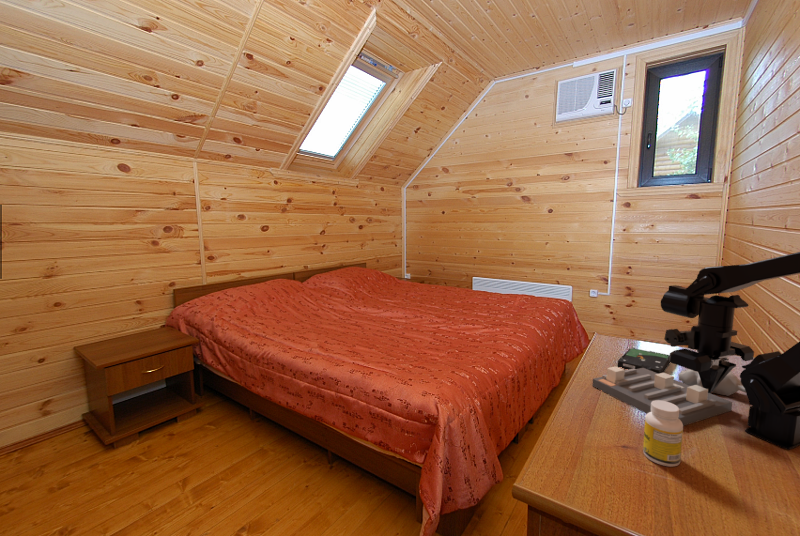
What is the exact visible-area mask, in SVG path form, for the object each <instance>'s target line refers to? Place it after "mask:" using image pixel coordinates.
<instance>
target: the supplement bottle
mask: <svg viewBox="0 0 800 536" xmlns="http://www.w3.org/2000/svg"><path fill="white" fill-rule="evenodd" d="M645 414H646V415H645V418H644V427H643V428H644V429H643V430H644V431H643V432H644V433H643V446H642V447H643V448H642V451H643V452H642V453H643V454H644V457H646V458H647V459H648V460H650V461H651V462H653V463H655V464H658V465H660V466H664V467H671V468H672V467H678V466H679V465H680V463H681V460H682V445H683V444H682V443H683V433H684V426H683V424H682V422H681V420H680V419H678V417H679V408H678V407H677V406H676V405H674V404H672V403H670V402H666V401H661V400H655V401H652V402H651V412H649V413H645Z"/></svg>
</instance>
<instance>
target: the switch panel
mask: <svg viewBox="0 0 800 536" xmlns="http://www.w3.org/2000/svg"><path fill="white" fill-rule="evenodd" d="M624 370H625V369H624ZM655 374H658V373H656V372H653V371H650V370H648V369H645V368H639V369H634V368H633V369H629V370H625V373H624V380H620V381H616V384H615V383H613V382H610V381H608V380H606V377H607V373H606V374H602V376H599V377H595V378H592V387H593V386H594V387H593V388H595V387H596V388H595V389H597V388H598V389H597V390H599V389H600V390H599V391H601V390H602V391H601V392H603V393H605V394H607V395H609V396H611V397H613V398H615V399H617V400H619V401H621V402H623V403H625V404H627V405H629V406H632V407H634V408H635V409H637V410H639V411H641V412H643V413H645V414H647V413H649V412H651V402H652V401H655V400H661V401H666V402H670V403H672V404H674V405H676V406H677V407H678V408H679V417H678V419H680V420H681V422H682V424H683V427H684V426H687V425H690V424H693V423H697V422H700V421H702V420H706V419H709V418H713V417H715V416H719V415H722V414H725V413H728V412H731V411H732V410H733V401H731V400H729V399H727V398H724V397H720V396H718V395H717V394H716V395H715V394H714V393H713V394H712V393H708V396H707V401H704V402H700V403H697V404H694V403H692V402H689V401H687V400H686V393H687V387H689V385H687V384H685V383H684V382H683V381H680V380H676V379H674V383H673V387H670V388H667V389H663V390H661V389H658V388H656V387H654V380H655Z"/></svg>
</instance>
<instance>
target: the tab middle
mask: <svg viewBox="0 0 800 536" xmlns="http://www.w3.org/2000/svg"><path fill="white" fill-rule="evenodd" d="M674 380H675V376H674V375H671V374H668V373H666V372H664V373H660V374H655V380H654V387H656V388H658V389H661V390H663V389H667V388H670V387H673V383H674Z"/></svg>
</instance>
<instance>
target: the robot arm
mask: <svg viewBox="0 0 800 536" xmlns="http://www.w3.org/2000/svg"><path fill="white" fill-rule="evenodd" d="M795 275H800V251H799V252H793V253H790V254H785V255H781V256H777V257H772V258H767V259H764V260H758V261H755V262H749V263H746V264H745V263H744V264H732V265H718V266H707V267H704V268H703V267H702V268H701V269H700V270H699V271H698V274H697V277H696V278H695V280H694V281H692V283H690V284H689V285H688V286H687V287H684V286H682V285H676V284H673V285H668V290H666V292H665V293H664V294H663V296H662V297H661V300H660V308H661V309H662V311H663V312H664V313H667V314H672V315H675V316H681V317H684V318H688V319H694V318H696V317H697V316H698V319H697V324H696V325H692V327H691V328H690V329H689V330H681V331H680V330H679V329H678V328H671V329H666V330H665V334H664V341H666V343H667V344H670V347H676V346H679V347H680V346H687V348H681V349H680V348H679V349H676V350H675V349H674V350H673V351H671V352H670V353H669V355H670V357H669V362H670V364H674V365H676V366H680V367H682V368H685V369H686V370H687V369H690V370H693V371H697V372H698V373H699V376H700V379H701V382H702V386H703V388H706V389H708V393H710V394H712V393H713V390H714V389H715V388H716V387H717V386H718V385H719V383H720V382H721V381H722V380H723V379H724V378H725V376H726V375H727V374H728V373H729V372H730V371H732V370H733V369H734V368H736V367H737V364H736V363H733V362H731V361H730V358H728V357H733V356H738V357H740V359H741V360H742V361H744V362H749V361H750V362H749V363H748V364H745V365H742V366H741V368H743V370H742V371H741V372H740V374H739V379H740V380H741V383H742V385H743V387H744V388H745V391H746V393H745V394H746V397H747V400H748V404H749V405H751V406H749V409H748V417H747V426H748V427H746V428H745V429H744V432H746V433H747V434H750V435H752V436H754V437H757V438H760V439H762V440H764V441H766V442H769V443H771V444H773V445H775V446H777V447H780V448H783V449H784V450H788V451H789V450H792V449H795V448H796V447H799V446H800V340H799V341H798V342H797V343H795V344H794V345H793V346H791V347H790V348H788V349H787V350H785V351H784V352H783V353H781V352H780V351H779V350H777V351H772V352H766V353H761V354H758V355H756V356H755V357H754V355H755V351H754V350H753V349H752V347H751V346H749V345H745V344H741V343H739V342H735V341H732V337H735V336H737V335H738V330H735V329H733V328H734V320H735V310H736V309H740V308H748V307H749V306H750V305H749V303H748V302H747V301H745V300H744V299H743V298H742V297H741V296H740V295H739V294H734V295H729V296H723V295H717V294H728V293H734V292H738V291H740V290H744V289H746V288H750V287H752V286H755V285H756V284H758V283H762V282H765V281H770V280H774V279H781V278H786V277H790V276H795ZM715 294H716V295H715ZM707 295H711V296H709V297H706V296H707Z"/></svg>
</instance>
